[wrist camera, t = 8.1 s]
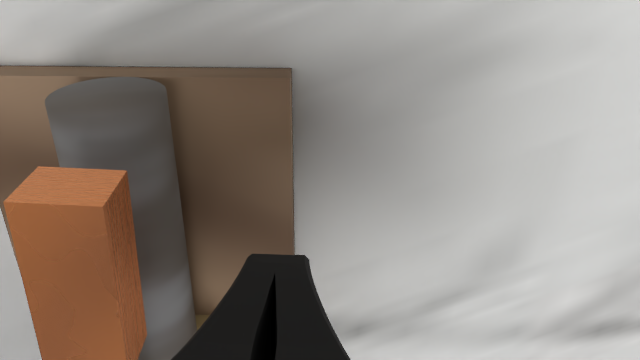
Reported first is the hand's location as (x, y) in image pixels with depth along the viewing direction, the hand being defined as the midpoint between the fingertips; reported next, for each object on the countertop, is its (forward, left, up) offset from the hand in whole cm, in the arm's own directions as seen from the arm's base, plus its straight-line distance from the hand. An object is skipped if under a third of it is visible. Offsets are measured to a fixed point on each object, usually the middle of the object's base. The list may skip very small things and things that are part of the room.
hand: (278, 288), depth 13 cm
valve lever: (-4, +5, -1) cm, 6 cm away
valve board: (-9, +5, -7) cm, 12 cm away
